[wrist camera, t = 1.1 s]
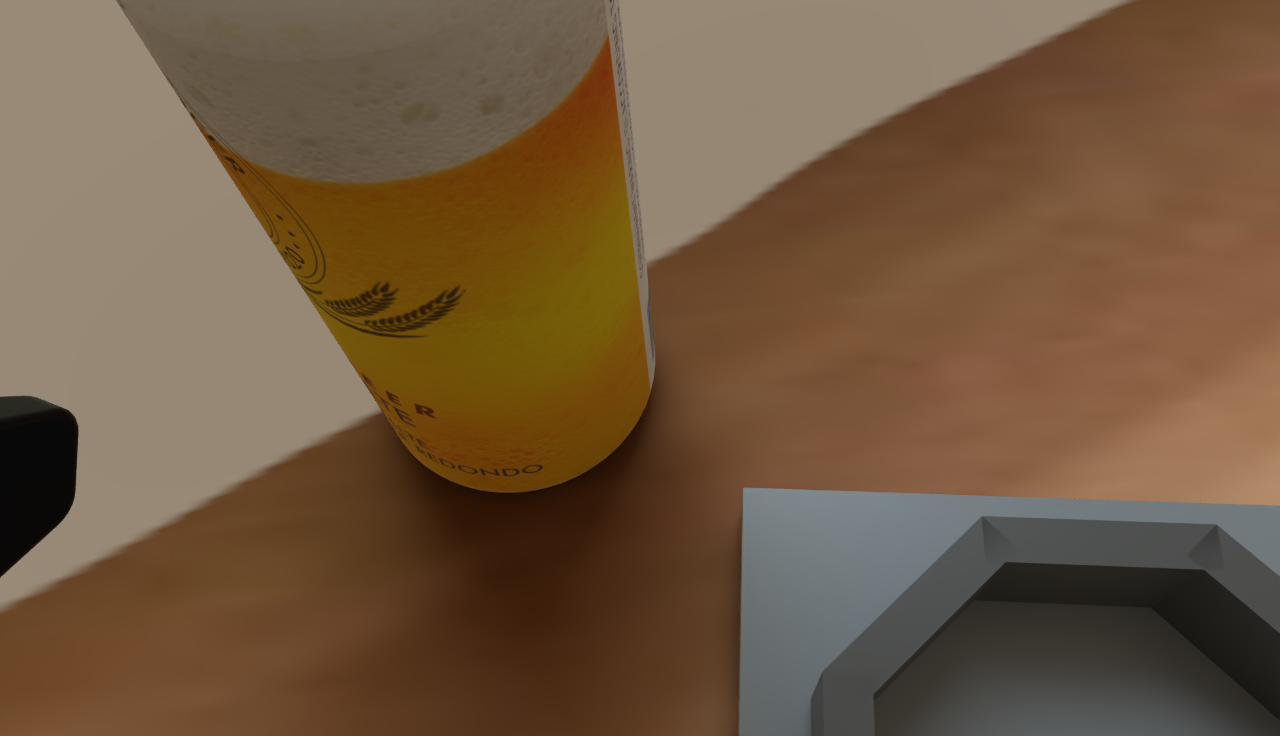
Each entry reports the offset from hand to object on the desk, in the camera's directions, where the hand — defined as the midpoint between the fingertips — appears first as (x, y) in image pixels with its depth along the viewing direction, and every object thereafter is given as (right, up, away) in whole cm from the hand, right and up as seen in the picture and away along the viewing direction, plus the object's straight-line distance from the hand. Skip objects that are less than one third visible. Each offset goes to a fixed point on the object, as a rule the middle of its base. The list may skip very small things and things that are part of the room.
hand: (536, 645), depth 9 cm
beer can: (-2, +2, +17) cm, 17 cm away
